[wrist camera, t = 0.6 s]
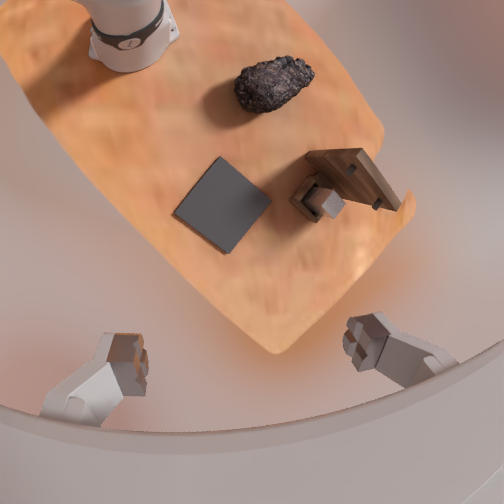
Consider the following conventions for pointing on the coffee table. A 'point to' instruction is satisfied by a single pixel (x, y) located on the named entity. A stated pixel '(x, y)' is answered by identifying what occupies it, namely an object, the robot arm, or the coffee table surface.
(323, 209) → the light gray square block
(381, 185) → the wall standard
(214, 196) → the rubber mat
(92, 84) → the coffee table surface
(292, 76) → the dark porous rock
